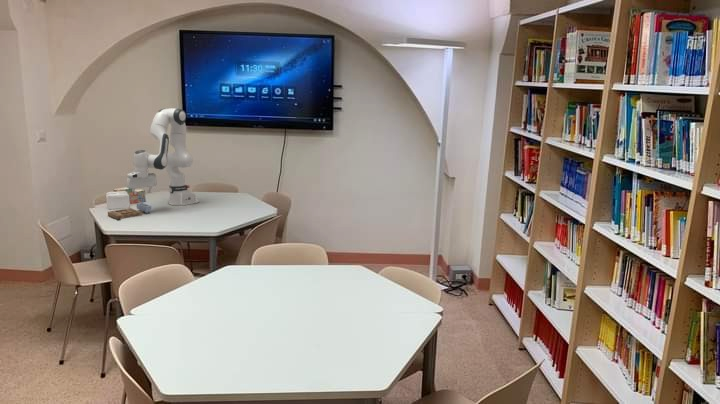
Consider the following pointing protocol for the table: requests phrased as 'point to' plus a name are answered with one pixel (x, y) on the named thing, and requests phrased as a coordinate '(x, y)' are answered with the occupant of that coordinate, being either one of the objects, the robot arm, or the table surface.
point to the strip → (143, 207)
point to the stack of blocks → (133, 198)
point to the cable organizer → (117, 200)
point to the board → (123, 213)
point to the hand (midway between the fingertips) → (142, 193)
